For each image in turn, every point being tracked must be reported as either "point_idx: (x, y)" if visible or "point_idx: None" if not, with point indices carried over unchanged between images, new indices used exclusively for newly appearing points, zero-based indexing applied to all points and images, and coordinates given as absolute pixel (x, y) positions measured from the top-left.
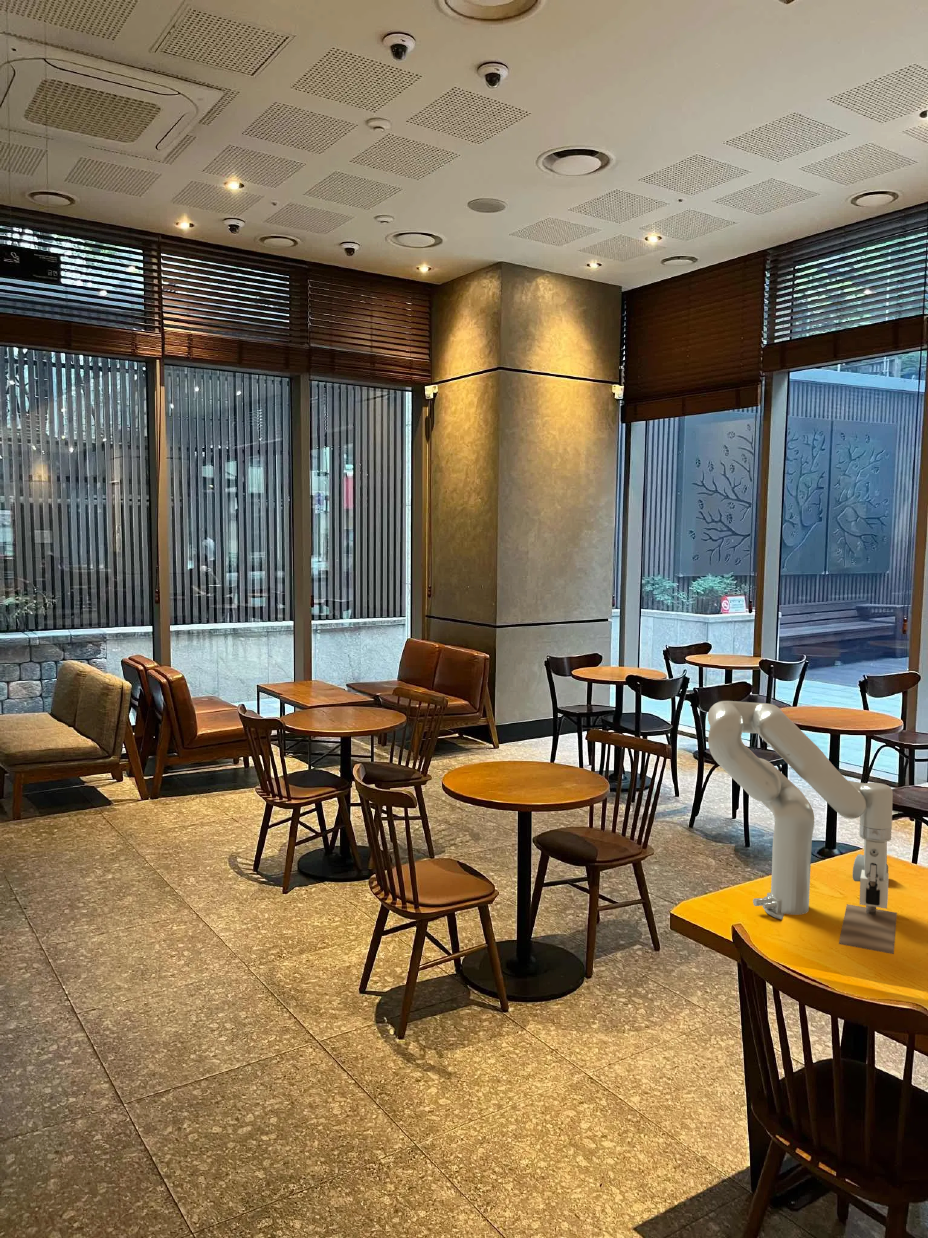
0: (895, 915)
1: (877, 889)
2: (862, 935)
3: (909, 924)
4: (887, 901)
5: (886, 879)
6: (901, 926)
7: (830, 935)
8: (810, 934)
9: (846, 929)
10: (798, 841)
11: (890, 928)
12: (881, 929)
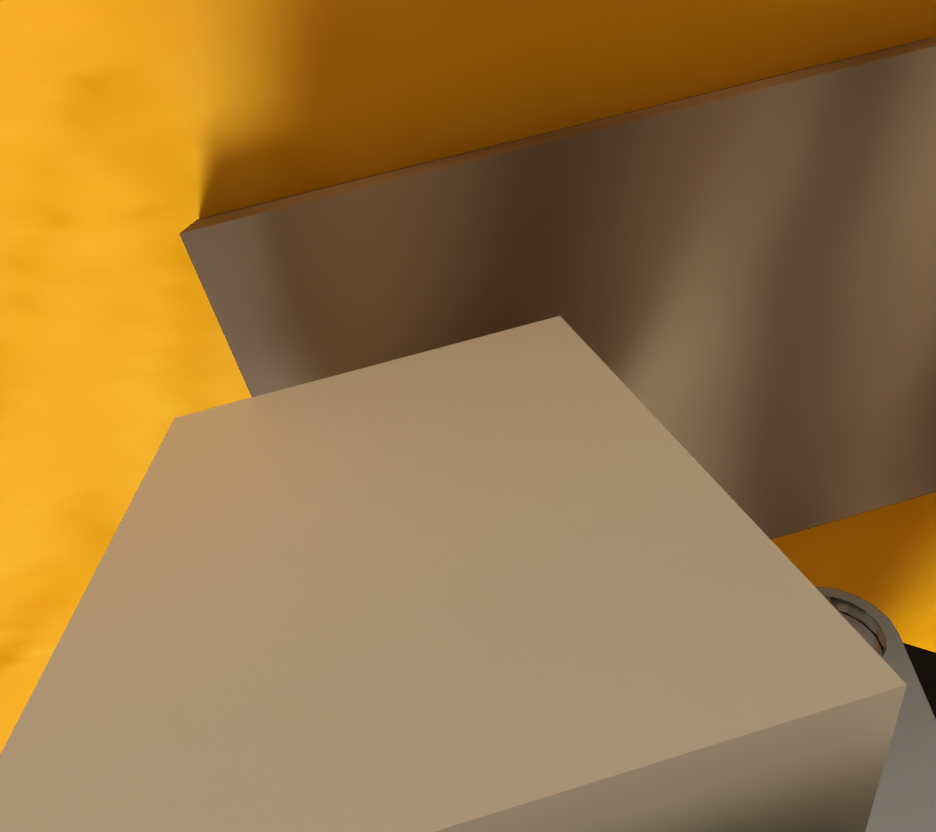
0: (291, 219)
1: (880, 632)
2: None
3: (257, 15)
4: (308, 391)
5: (662, 799)
6: (401, 96)
7: (908, 514)
8: (929, 593)
9: (919, 470)
10: None
11: (751, 154)
12: (819, 232)
